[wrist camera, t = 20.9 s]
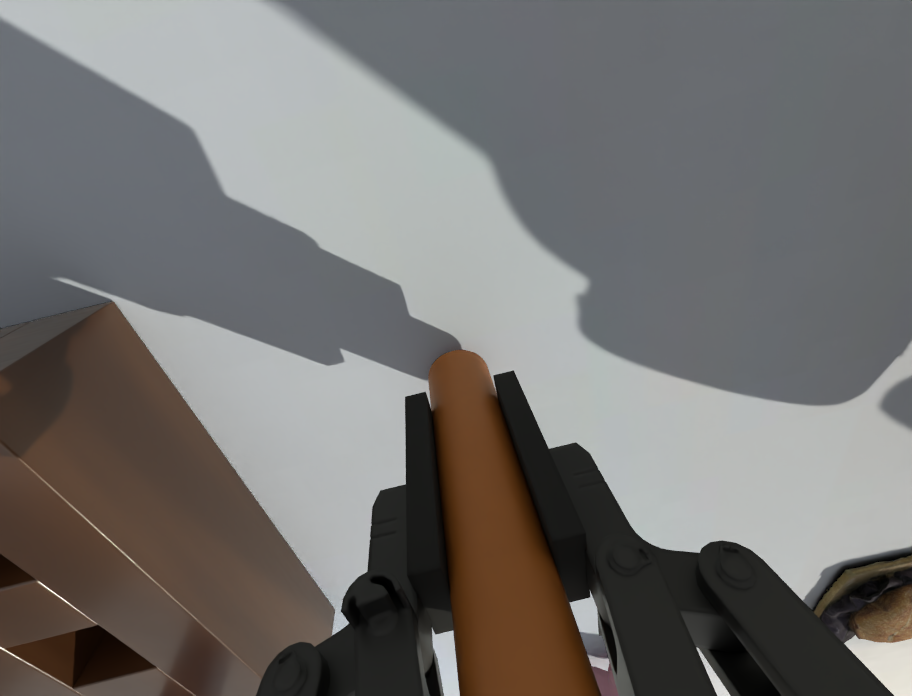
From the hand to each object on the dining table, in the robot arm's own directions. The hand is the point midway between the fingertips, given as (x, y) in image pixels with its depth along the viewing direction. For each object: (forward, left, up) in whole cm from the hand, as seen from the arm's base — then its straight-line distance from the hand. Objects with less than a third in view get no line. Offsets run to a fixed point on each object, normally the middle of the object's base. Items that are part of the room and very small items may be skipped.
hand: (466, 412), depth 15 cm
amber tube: (0, 0, -3) cm, 3 cm away
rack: (+14, -9, -3) cm, 17 cm away
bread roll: (+6, +44, -4) cm, 44 cm away
